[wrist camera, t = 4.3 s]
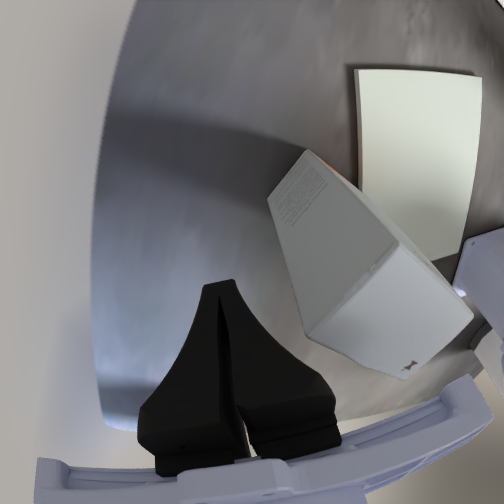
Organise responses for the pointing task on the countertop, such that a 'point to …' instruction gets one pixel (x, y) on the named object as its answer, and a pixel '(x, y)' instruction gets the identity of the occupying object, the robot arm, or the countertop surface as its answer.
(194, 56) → the countertop surface
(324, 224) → the skincare box
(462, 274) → the robot arm
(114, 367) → the countertop surface
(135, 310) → the countertop surface
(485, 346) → the wine bottle
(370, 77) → the sage mat
